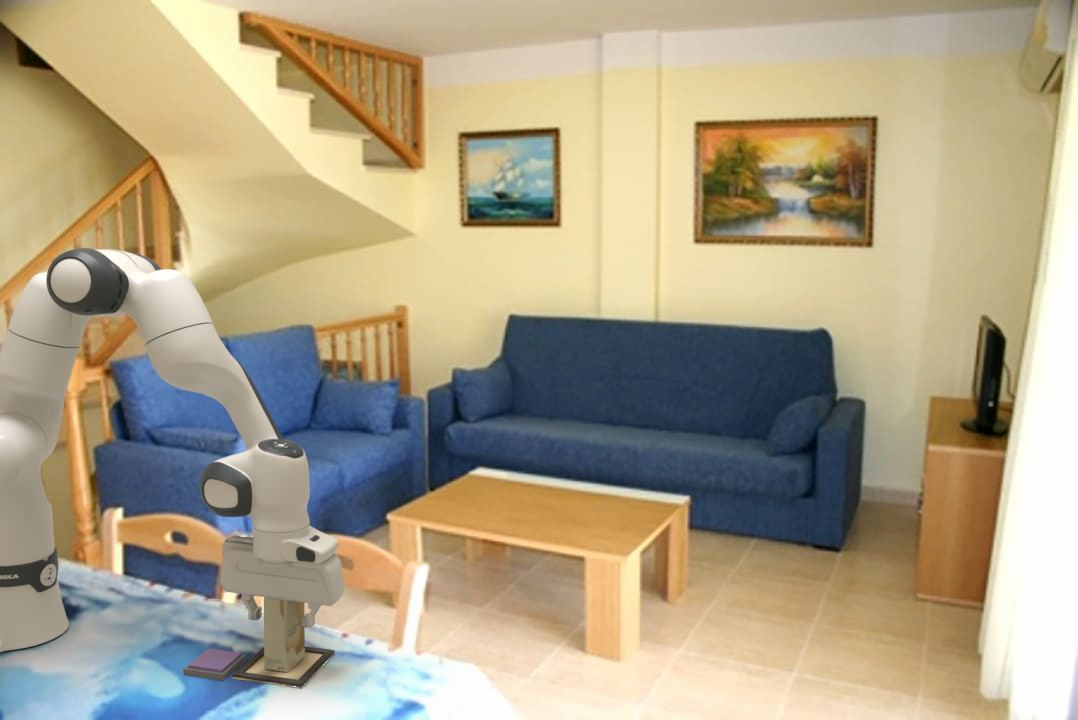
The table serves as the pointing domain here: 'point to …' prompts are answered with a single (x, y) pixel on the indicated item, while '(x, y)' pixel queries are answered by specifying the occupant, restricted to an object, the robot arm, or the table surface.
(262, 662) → the framed board
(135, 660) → the table surface
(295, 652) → the skincare box
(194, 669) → the pad
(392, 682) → the table surface
